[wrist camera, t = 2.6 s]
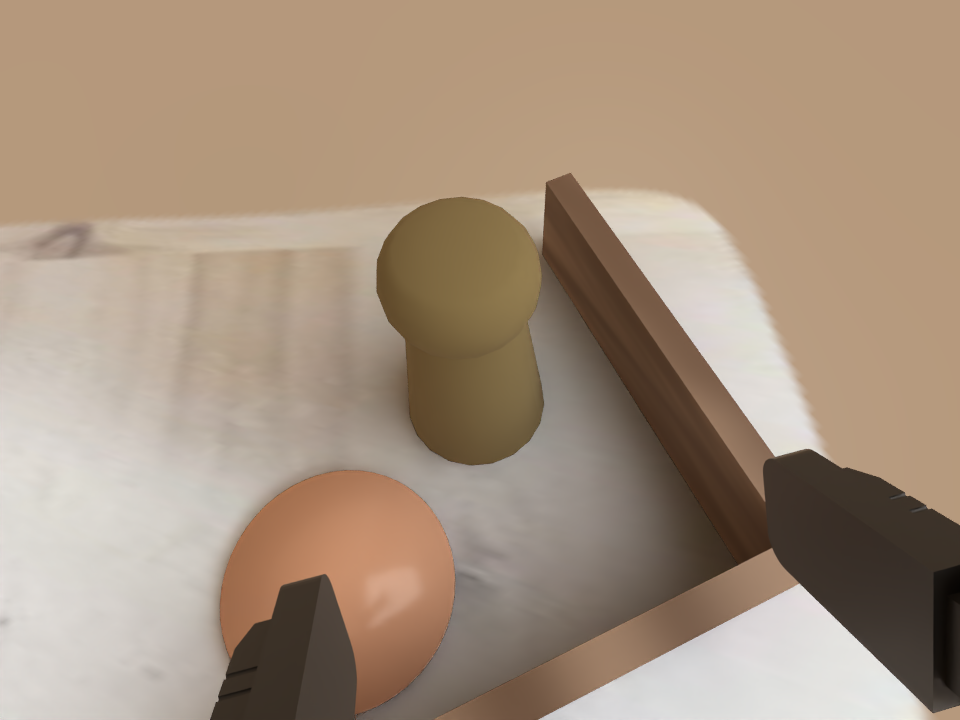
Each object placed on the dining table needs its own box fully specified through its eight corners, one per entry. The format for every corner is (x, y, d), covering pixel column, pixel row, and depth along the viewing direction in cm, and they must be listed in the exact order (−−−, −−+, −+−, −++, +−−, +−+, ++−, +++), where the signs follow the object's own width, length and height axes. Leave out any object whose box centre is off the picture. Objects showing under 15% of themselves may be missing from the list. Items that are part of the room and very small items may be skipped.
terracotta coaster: (256, 766, 22) (251, 767, 21) (203, 528, 26) (198, 525, 25) (493, 649, 23) (492, 648, 23) (407, 441, 27) (405, 437, 27)
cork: (452, 491, 26) (412, 369, 16) (385, 382, 28) (317, 221, 19) (571, 418, 27) (601, 264, 18) (496, 320, 30) (487, 139, 20)
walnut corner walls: (231, 872, 20) (152, 920, 16) (142, 411, 28) (74, 359, 24) (785, 584, 23) (848, 558, 19) (563, 245, 32) (570, 172, 27)
